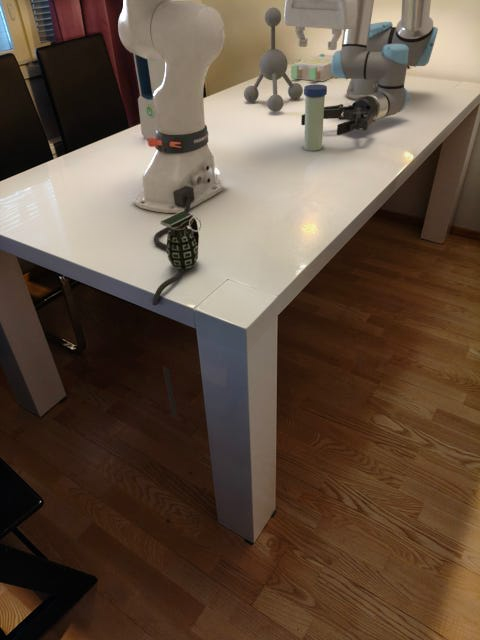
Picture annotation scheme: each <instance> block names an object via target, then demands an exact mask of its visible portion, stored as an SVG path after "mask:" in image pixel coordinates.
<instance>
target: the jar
mask: <svg viewBox="0 0 480 640" xmlns="http://www.w3.org/2000/svg"><path fill="white" fill-rule="evenodd" d="M325 96H326V95H325ZM325 96H322V97H308V96H305V104H304V105H305V106H304V108H305V109H304V114H305V125H304V135H303V149H304V150H306V151H311V152H314V151H320V150H322V148H323V136H324V135H323V134H324V119H323V118H324V107H325V98H326V97H325Z"/></svg>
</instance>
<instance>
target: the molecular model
mask: <svg viewBox="0 0 480 640" xmlns="http://www.w3.org/2000/svg"><path fill="white" fill-rule="evenodd" d="M281 20H282V13H281V11H280V9H278V8H277V7H274V6H273V7H272V6H271V7H269V8H268V9H267V10H266V11H265V13H264V21H265V24H266V25H267V26H268V27H270V49H267V50H266V51H264V53H263V54H262V55H261V57H260V59H259V65H258V66H259V71H260V74H259V75H258V77H257V79H256V81H255V83H254V84H253V85H248V86H247V87H246V88H245V89H244V91H243V97H244V99H245V101H247V102H248V103H254V102H256V101H257V100H258V98H259V94H260V92H259V90H258V87H259V85H260V83H261V82H262V80H263V78H265V79H266V80H268V81H271V82H272V94H271V95H270V96H269V97H268V98H267V108H268V109H269V110H270V111H271V112H273V113H277V112H280V111H281V110H282V109H283V107H284V99H283V97H282V96H281V95H280V94H278V80H279V79H281V78H283V79H284V81H285V82H286V84H287V86H288V89H287V94H288V97H289V98H290V99H292V100H298V99H300V98H301V97H302V96H303V94H304V88H303V86H302V85H301V83H298V82H294V83H293V82H292V80H291V78H289V76H288V74H287V73H286V72H287V69H288V59H287V56H286V55H285V53H284V52H283V51H282V50H280V49H278V48H276V27H278V25H280V23H281V22H282V21H281Z"/></svg>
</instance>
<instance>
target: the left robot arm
mask: <svg viewBox="0 0 480 640" xmlns="http://www.w3.org/2000/svg"><path fill="white" fill-rule="evenodd" d="M122 1H123V3H122V4H123V6H122V10H121V12H120V14H119V17H118V21H117V22H118V24H117V27H118V28H117V31H118V36H119V39H120V42H121V44H122V46H123V47H124V48H125V49H126V50H127V51H128V52H129V53H131V54H133V55H134V54H135V55H138V56H140V57H142V58H145V59H149V60H159V61H164V62H165V76H164V80H163V83H161V84H160V85H159V86H158V87H157V88H156V90H155V91H154V95H153V101H154V108H155V114H156V121H157V128H158V129H157V130H156V138H152V137H150V138H149V139H147V146H149V147H151V148H152V147H154V148H155V151H154V153H153V155H152V157H151V159H150V162H149V163H148V165H147V167H146V169H145V172H144V173H143V176H142V192H140V193H139V195H138V196H137V197H135V199H134V205H135V206H137V207H138V208H140V209H142V210H143V209H144V210H147V211H151V212H157V213H164V214H177V213H179V212H181V211H184V212H187V213H189V212H190V209H193V208H194V207H196V206H198V205H199V204H201V203H203V202H205V201H207V200H208V199H210V198H212V197H214V196H215V195H217V194H219V193H220V192H222V191H223V185H222V184H220V183H219V180H218V175H220V170H219V169H218V168H217V167H216V163H215V156H214V155H213V153H212V152H211V149H210V147H209V145H208V143H209V130H208V126H207V124H206V120H205V119H206V118H205V105H204V104H205V103H204V88H205V82H206V77H207V74H208V71H209V69H210V67H211V65H212V64H213V62H214V61H215V60H216V59H217V58H218V57H219V56H220V55H221V52H222V50H223V47H224V45H225V39H226V31H225V30H226V29H225V25H224V21H223V18H222V16H221V13H220V12H219V11H217V9H216V8H214V7H212V6H209V5H207V4H205V3H201V2H198V1H194V0H122ZM284 2H285V3H284V9H283V10H284V12H283V21H284V24H285V25H286V26H287V27H295V28H294V29H295V35H296V37H297V38H298V48H299V47H300V48H305V47H307V46H308V38H307V37H306V36H305V33H304V31H306V28H313V29H324V30H331V34H332V35H333V36H332V38H331V39H330V41H327V50H328V51H337V47H338V41H339V40H340V38H341V36H342V35H343V34H342V32H343V31H344V30H348V29H352V28H353V27H354V25H355V24H356V19H357V0H285V1H284ZM169 230H171V227H170V228H169V227H166V226H165V228H162V229H160V230H159V231H157V232H156V233H155V234H154V236H153V242H154V244H155V245H157V246H158V247H159V248H162V249H163V250H166V249H167V243H164V242H161V241H160V239H159V238H160V237H161V236H163V235H165V234H166V233H168V231H169ZM184 271H185V270H184V268H182V269H181V268H179V269H178V271H177V273H175V275H173V276H171V277H170V278H168V279H166V280H164V282H162V283H161V284H160V285H158V287H157V289H156V291H155V293H154V296H153V300H152V306H158V304H159V299H160V297H161V294H162V293H163V291H164V290H165V289H166V288H168V287H169V286H170V285H171V284H174V283H175V282H177V281H179V279H181V278H182V276H183V275H184ZM161 366H162V371H163V376H164V380H165V386H166V390H167V395H168V400H169V405H170V406H169V407H170V410H171V415H172V419H177V418H178V413H177V409H176V408H177V407H176V402H175V397H174V392H173V387H172V382H171V377H170V371H169V368H168V367H167V366H165V365H161Z"/></svg>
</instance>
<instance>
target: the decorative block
mask: <svg viewBox="0 0 480 640" xmlns="http://www.w3.org/2000/svg"><path fill="white" fill-rule="evenodd" d="M333 55H334V54H333ZM333 55H332V54H331V55H330V54H325V53H320V54H318V55H316V56H310V57H307V58H304V59H296V60H295V62H294V63H293V64H292V65H291V66H290V79H295V80H306V81H315V82H325V81H327V80H329V79H331V78H333V77H334V76H333V75H332V70H331V65H332V59H333ZM334 78H335V77H334Z"/></svg>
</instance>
